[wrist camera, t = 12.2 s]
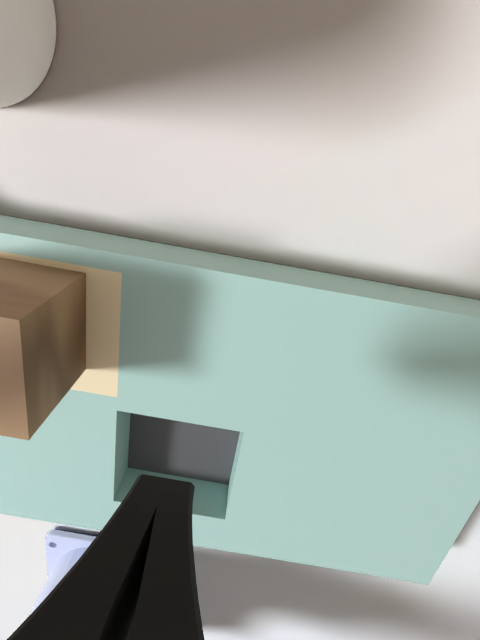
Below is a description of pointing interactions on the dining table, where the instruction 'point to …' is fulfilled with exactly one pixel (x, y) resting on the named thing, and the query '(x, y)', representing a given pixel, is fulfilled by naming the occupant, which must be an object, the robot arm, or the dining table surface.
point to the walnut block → (38, 342)
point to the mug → (25, 47)
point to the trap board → (259, 405)
